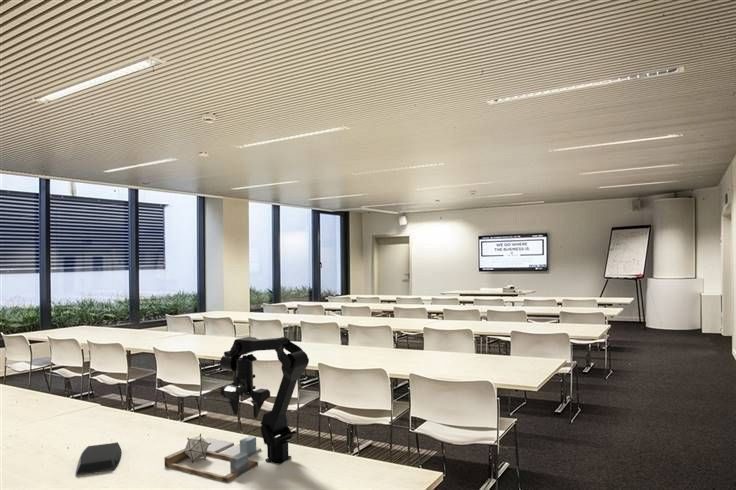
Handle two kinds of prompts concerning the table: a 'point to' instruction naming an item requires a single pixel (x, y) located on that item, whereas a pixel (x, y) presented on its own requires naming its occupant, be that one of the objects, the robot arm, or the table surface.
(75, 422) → the table surface
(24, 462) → the table surface
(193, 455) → the game die
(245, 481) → the table surface
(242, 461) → the wooden tray frame
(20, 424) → the table surface
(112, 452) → the external hard drive
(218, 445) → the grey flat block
